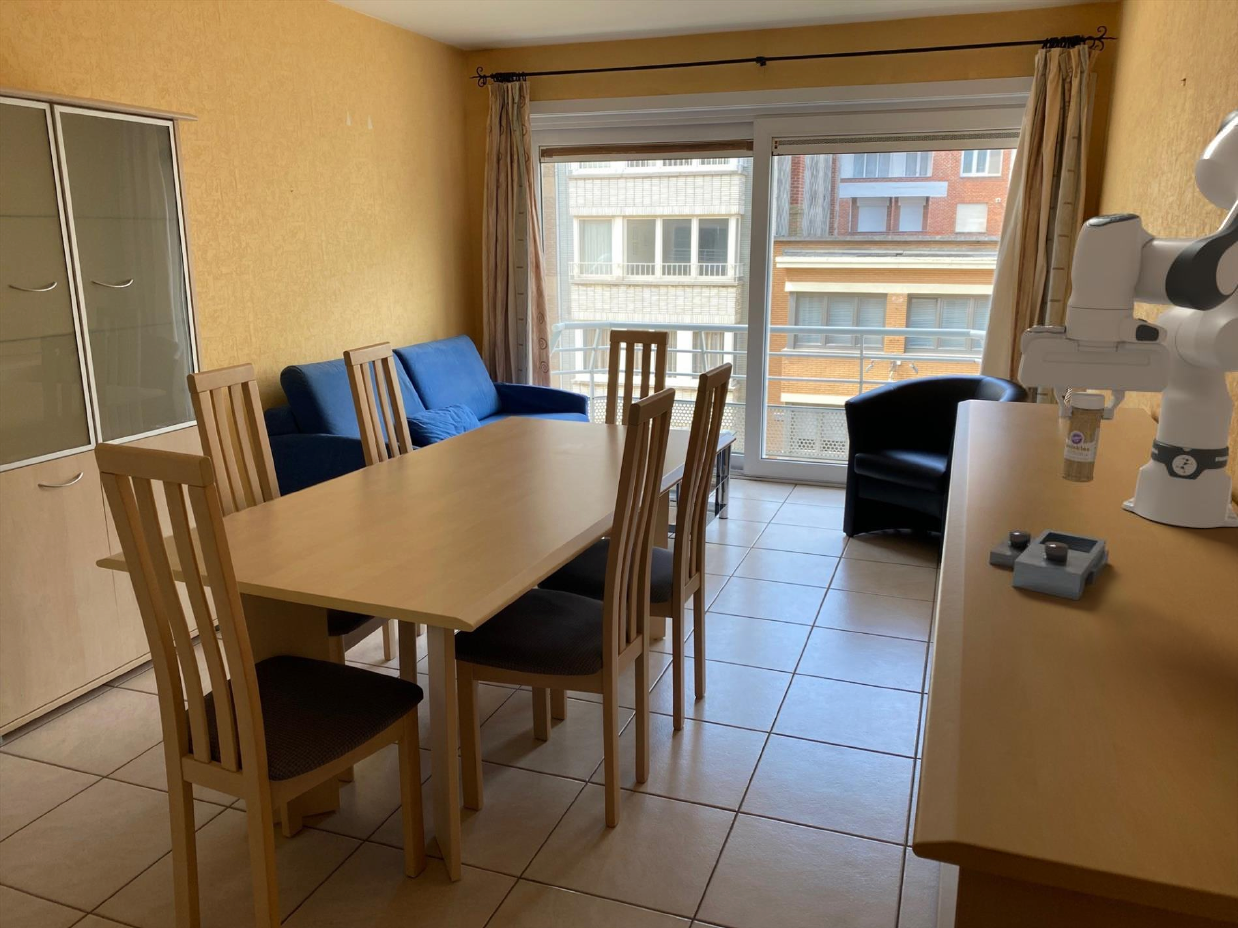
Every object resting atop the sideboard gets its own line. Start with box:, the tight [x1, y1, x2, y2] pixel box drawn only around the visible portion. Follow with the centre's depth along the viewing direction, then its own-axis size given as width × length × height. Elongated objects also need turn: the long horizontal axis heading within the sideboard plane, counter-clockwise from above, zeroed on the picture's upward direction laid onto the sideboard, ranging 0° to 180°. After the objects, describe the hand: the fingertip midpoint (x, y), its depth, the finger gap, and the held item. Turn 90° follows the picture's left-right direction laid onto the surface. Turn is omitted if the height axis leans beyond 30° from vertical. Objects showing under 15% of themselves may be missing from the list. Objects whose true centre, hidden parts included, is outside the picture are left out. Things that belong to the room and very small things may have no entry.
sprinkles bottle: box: [1060, 391, 1106, 484], centre depth 139 cm, size 5×5×14 cm
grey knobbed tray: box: [988, 529, 1110, 585], centre depth 145 cm, size 12×15×4 cm
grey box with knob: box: [1011, 528, 1107, 601], centre depth 140 cm, size 19×9×6 cm, turn 143°
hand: (1085, 418), depth 138 cm, fingers closed on sprinkles bottle, 4 cm apart
